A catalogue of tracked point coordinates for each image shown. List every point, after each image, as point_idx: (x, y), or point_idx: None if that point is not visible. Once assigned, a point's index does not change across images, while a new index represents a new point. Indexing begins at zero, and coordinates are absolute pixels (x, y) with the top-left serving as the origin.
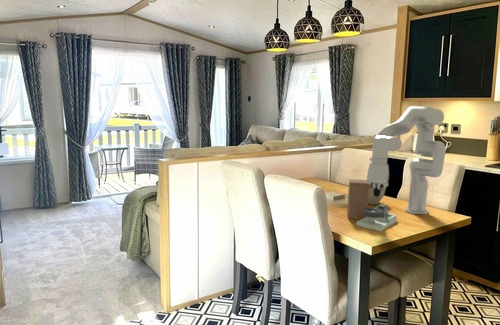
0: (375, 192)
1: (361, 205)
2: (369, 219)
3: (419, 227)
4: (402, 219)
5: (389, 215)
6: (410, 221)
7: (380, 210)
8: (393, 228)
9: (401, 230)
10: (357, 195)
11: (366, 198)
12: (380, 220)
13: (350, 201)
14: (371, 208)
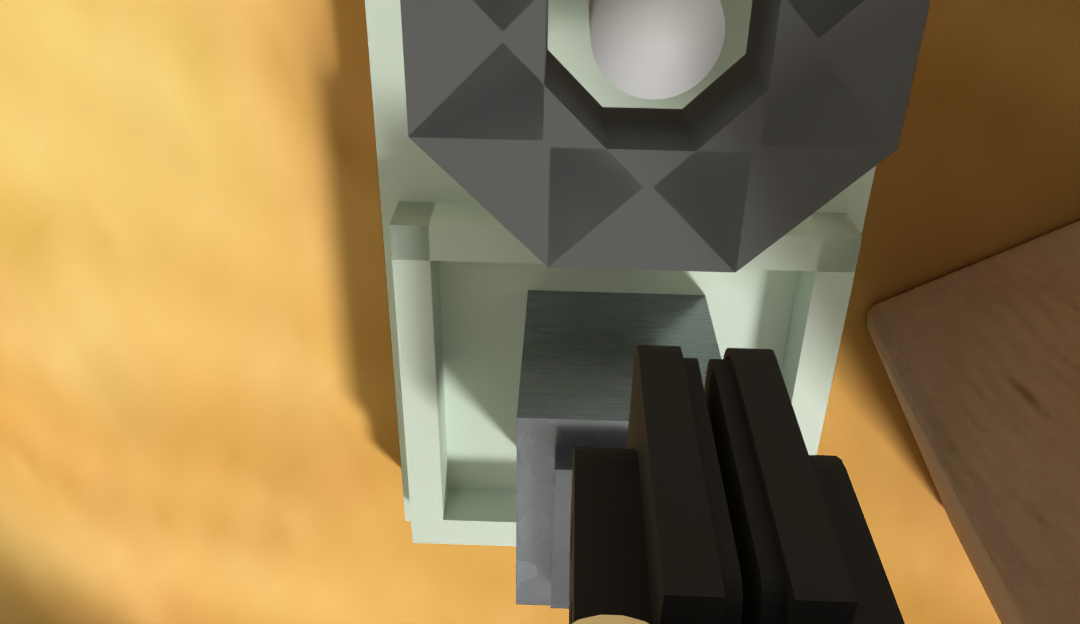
0: (745, 465)
1: (1077, 410)
2: None
3: (53, 421)
4: (398, 591)
5: None
6: (279, 576)
7: (501, 174)
8: (284, 116)
9: (136, 104)
10: None
11: (1050, 582)
12: None
13: None
14: (764, 199)
